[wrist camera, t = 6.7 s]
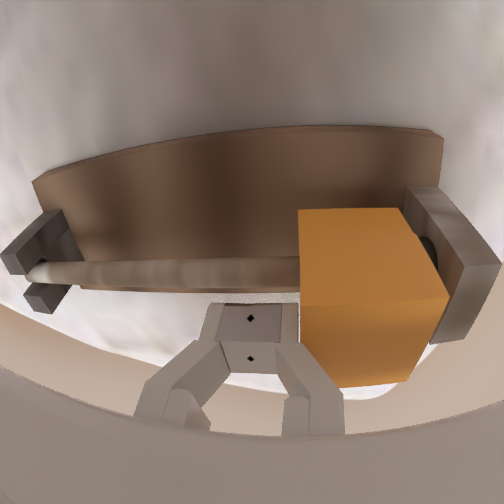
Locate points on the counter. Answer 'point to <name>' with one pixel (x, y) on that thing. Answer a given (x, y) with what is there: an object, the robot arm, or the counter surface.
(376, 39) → the counter surface
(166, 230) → the cord board
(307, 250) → the notched orange cube
